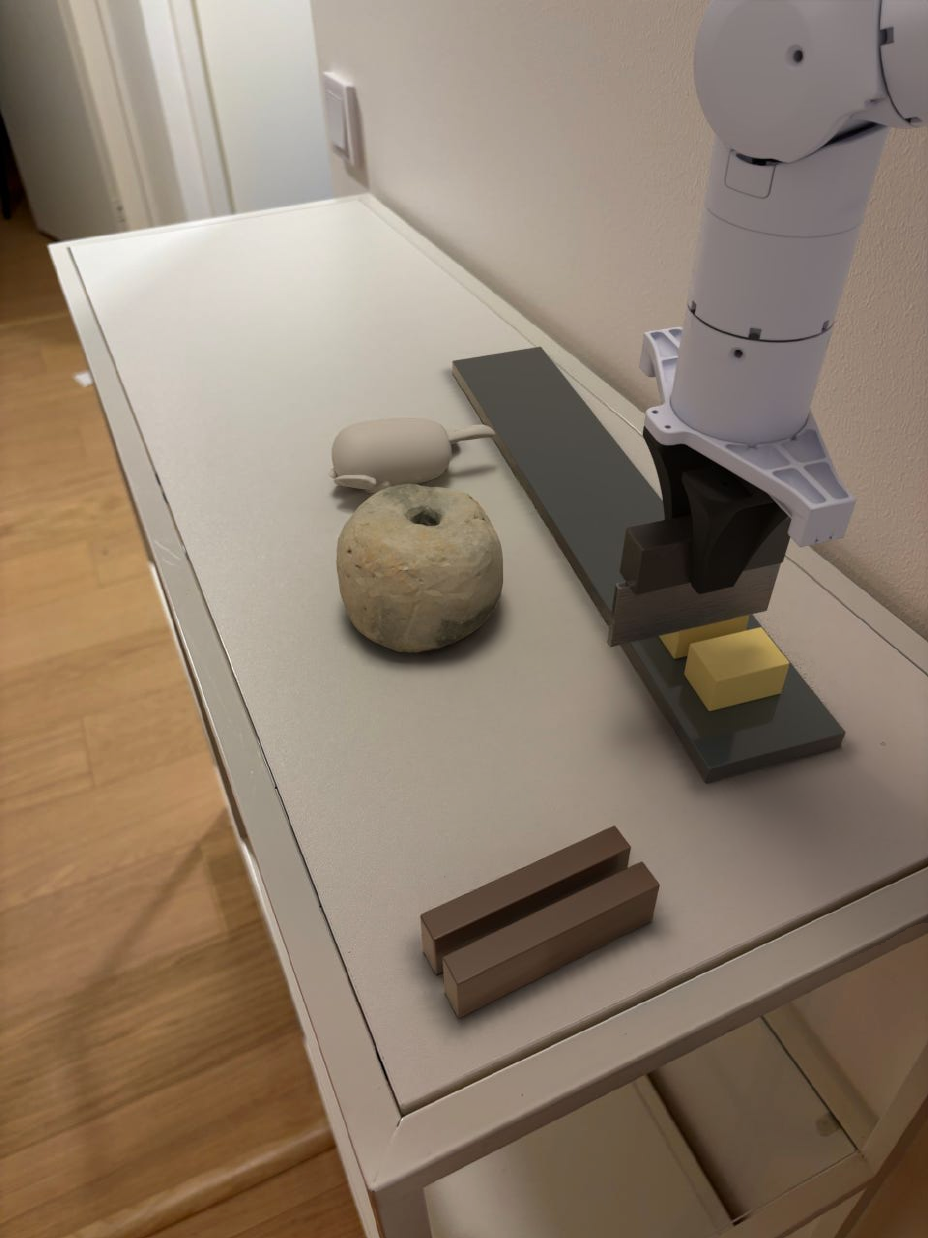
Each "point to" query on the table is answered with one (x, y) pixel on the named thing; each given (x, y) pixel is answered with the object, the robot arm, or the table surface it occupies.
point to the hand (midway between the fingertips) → (701, 570)
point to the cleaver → (684, 582)
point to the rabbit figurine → (396, 452)
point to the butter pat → (736, 668)
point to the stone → (419, 567)
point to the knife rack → (537, 919)
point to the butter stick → (701, 635)
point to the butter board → (593, 543)
